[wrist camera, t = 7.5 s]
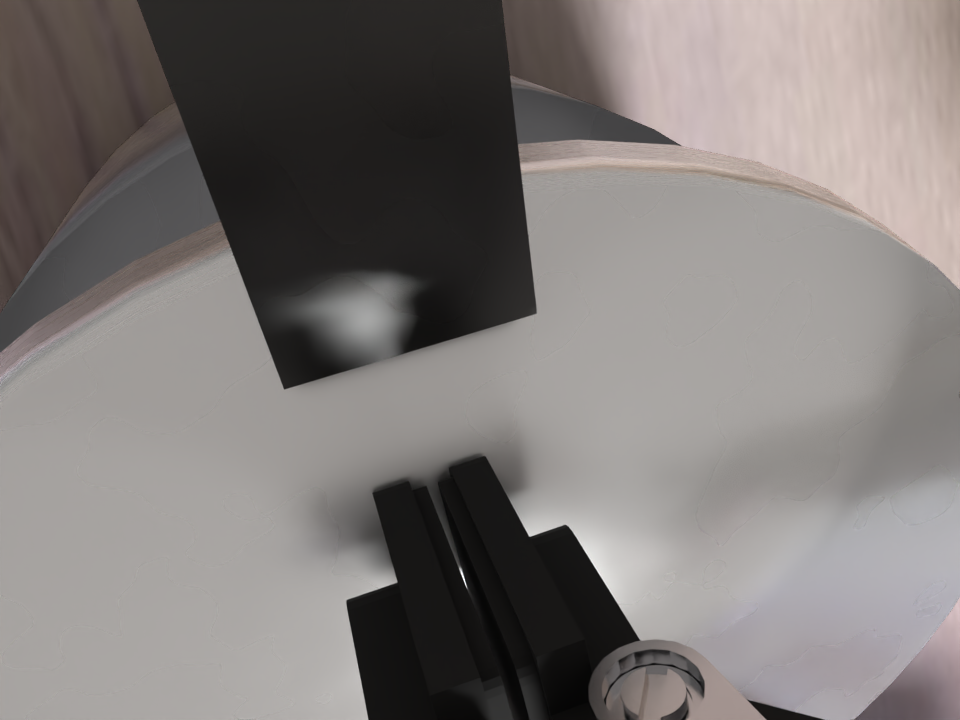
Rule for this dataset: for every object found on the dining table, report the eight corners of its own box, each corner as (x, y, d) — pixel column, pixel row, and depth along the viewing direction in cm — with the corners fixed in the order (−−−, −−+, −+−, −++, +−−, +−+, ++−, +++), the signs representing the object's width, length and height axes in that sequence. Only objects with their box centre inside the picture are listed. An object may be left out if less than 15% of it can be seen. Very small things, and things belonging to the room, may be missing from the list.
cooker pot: (-217, -88, 21) (-555, -133, 12) (595, -257, 23) (820, -398, 15) (186, 730, 32) (169, 1019, 23) (698, 551, 35) (858, 749, 26)
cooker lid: (-1308, -14, 6) (-1910, 137, 4) (1278, -503, 9) (1566, -536, 7) (137, 1013, 23) (139, 1131, 21) (875, 725, 26) (932, 807, 24)
